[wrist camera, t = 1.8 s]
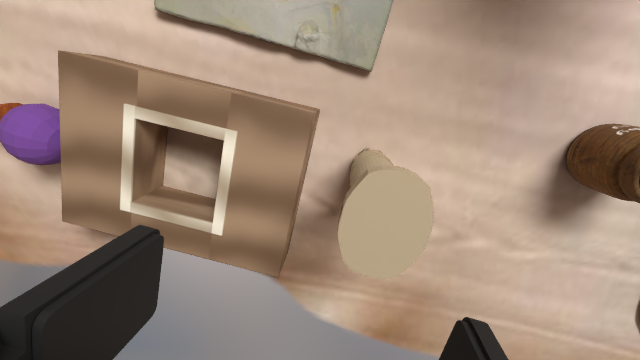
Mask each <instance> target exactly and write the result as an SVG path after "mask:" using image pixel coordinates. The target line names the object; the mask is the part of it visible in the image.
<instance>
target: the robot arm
mask: <svg viewBox="0 0 640 360" xmlns="http://www.w3.org/2000/svg"><path fill="white" fill-rule="evenodd" d="M163 246H164V237H163V236H162V235H160V231H159V230H158V229H155V228H151V227H148V226H144V225H138V226H136V227H134V228H132V229H131V230H129V231H127V232H126V233H124V234H122V235H121V236H119V237H117V238H116V239H114V240H112V241H111V242H109V243H107V244H106V245H104V246H102V247H101V248H99V249H97V250H95V251H94V252H92V253H90V254H89V255H87V256H85V257H84V258H82V259H80V260H79V261H77V262H75V263H74V264H72V265H70V266H69V267H67V268H65V269H64V270H62V271H60V272H59V273H57V274H55V275H54V276H52V277H50V278H49V279H47V280H45V281H44V282H42V283H40V284H39V285H37V286H35V287H34V288H32V289H31V290H29V291H27V292H25V293H24V294H22V295H21V296H18V297H17V298H15V299H13V300H12V301H10V302H8V303H7V304H5V305H3V306H2V307H0V360H112V359H114V357H115V356H116V355H117V354H118V353H119V352H120V351H121V350H122V349H123V348H124V346H125V345H126V344H127V343H128V342H129V341H130V340H131V339H132V338H133V337H134V336H135V335H136V334H137V332H138V331H139V330H140V329H141V328H142V327H143V326H144V325H145V324H146V323H147V321H148V320H149V319H150V318H151V317H152V316H153V314H154V312H155V310H156V307H157V300H158V291H159V282H160V272H161V264H162V255H163ZM439 360H508V358H507V356H506V355H505V353H504V351H503V349H502V348H501V346H500V344H499V343H498V341H497V339H496V337H495V336H494V334H493V332H492V330H491V329H490V327H489V325H488V324H487V323H485V322H482V321H479V320H475V319H472V318H468V317H465V318H464V319H463V320H462V321H461V320H458V321H457V322H456V324H455V326H454V328H453V330H452V332H451V334H450V337H449V339H448V341H447V343H446V345H445V347H444V350H443V352H442V354H441V356H440V358H439Z"/></svg>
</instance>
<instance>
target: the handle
mask: <svg viewBox="0 0 640 360" xmlns="http://www.w3.org/2000/svg"><path fill="white" fill-rule="evenodd" d="M349 182H350V190H349V191H348V192H347V194H346V196H345V199H344V202H343V205H342V209H341V213H340V217H339V222H338V241H339V246H340V251H341V255H342V259H343V262H344V263H345V264H346V265H347V266H348V267H349V268H350V269H351V270H353V271H355V272H357V273H359V274H361V275H364V276H367V277H371V278H376V279H390V278H395V277H399V276H401V275H402V274H403V273H404V272H405V271H406V270H407V269H408V268H409V267H410V266H411V265H412V264H413V263H414V262H415V261H416V260H417V259H418V258H419V257H420V256H421V254H422V253H423V251H424V249H425V247H426V244H427V241H428V239H429V236H430V233H431V231H432V227H433V223H434V210H433V202H432V195H431V189H430V187H429V186H428V185H427V184H426V183H425V182H424V181H423V179H422V178H420V177H419V176H418V175H417V174H415V173H414V172H412V171H410V170H408V169H404V168H401V167H397V166H393V164H392V162H391V161H390V160H389V159H388V158H387V157H386V156H385V155H384V154H383V153H382V152H380V151H375V150H370V149H369V148H366V149H364V150H363V152H361V153H360V154H359V155H358V156H357V157H355V158H354V160H353V162H352V166H351V170H350V179H349Z"/></svg>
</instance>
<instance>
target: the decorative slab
mask: <svg viewBox="0 0 640 360" xmlns="http://www.w3.org/2000/svg"><path fill="white" fill-rule="evenodd" d="M392 3H393V0H155V2H154V4H155V9H156V10H158V11H161V12H164V13H167V14H170V15H173V16H177V17H180V18H183V19H187V20H190V21H195V22H199V23H204V24H209V25H214V26H218V27H221V28H225V29H228V30H231V31H233V32H236V33H240V34H244V35H247V36H251V37H254V38H258V39H261V40H265V41H268V42H271V43H274V44H278V45H282V46H286V47H289V48H292V49H295V50H298V51H302V52H305V53H309V54H313V55H317V56H320V57H324V58H327V59H329V60H330V61H335V62H340V63H344V64H347V65H351V66H354V67H357V68H360V69H363V70H367V71H372V69H373V65H374V62H375V59H376V56H377V52H378V49H379V46H380V43H381V40H382V36H383V33H384V30H385V27H386V24H387V20H388V17H389V13H390V10H391V6H392Z"/></svg>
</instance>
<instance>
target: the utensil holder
mask: <svg viewBox="0 0 640 360" xmlns="http://www.w3.org/2000/svg"><path fill="white" fill-rule="evenodd" d="M567 167H568V170H569V172H570V174H571V175H572V176H573V178H575V179H576V180H577V181H578V182H580V183H582V184H583V185H585V186H587V187H590V188H592V189H594V190H597V191H599V192H602V193H604V194H607V195H609V196H612V197H615V198H618V199H621V200H626V201H635V202H638V203H640V127H637V126H630V125H621V124H605V125H599V126H596V127H593V128H590V129H588V130H587V131H585V132H583V133H582V134H581V135H579V136H578V137H577V138H576V139H575V141H574V142H573V143H572V145H571V146H570V148H569V151H568V154H567Z"/></svg>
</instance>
